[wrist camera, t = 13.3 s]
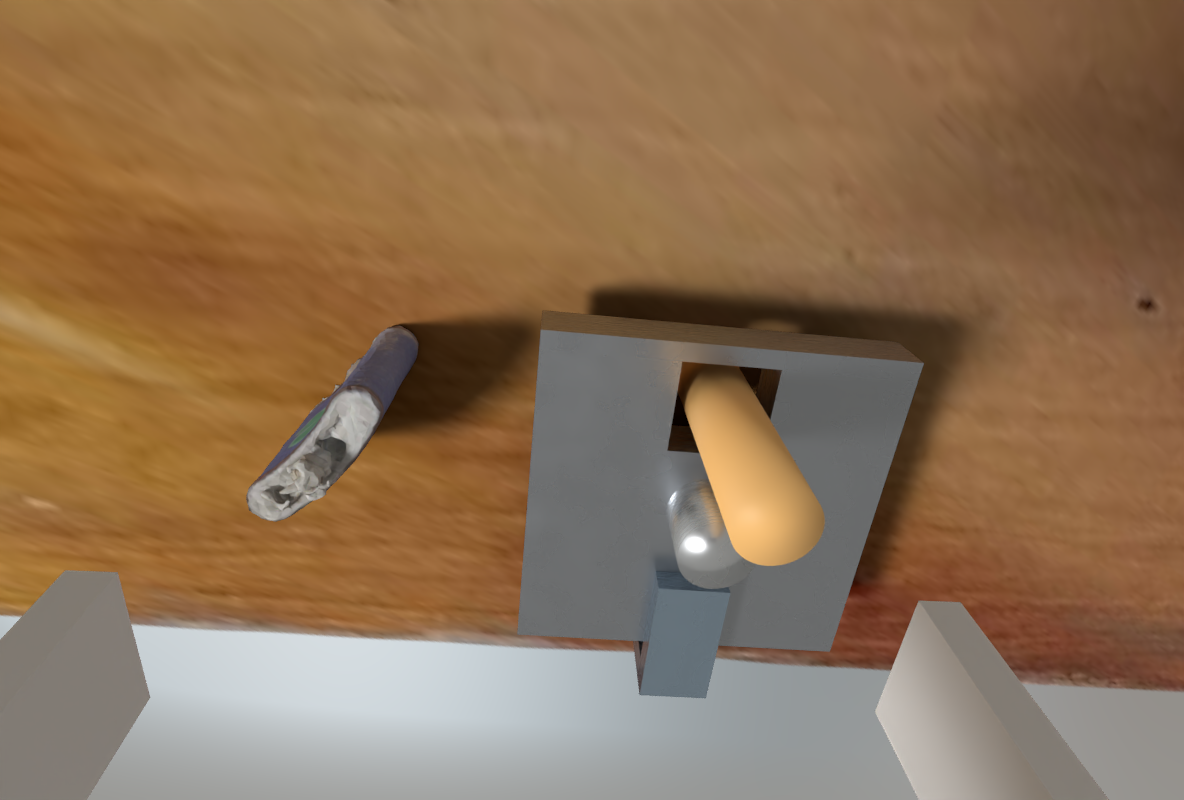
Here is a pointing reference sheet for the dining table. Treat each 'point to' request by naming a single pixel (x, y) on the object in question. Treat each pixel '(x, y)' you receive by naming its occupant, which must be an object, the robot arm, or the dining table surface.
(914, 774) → the robot arm
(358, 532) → the dining table surface
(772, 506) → the light orange cylinder
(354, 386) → the flask
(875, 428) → the grey plate
